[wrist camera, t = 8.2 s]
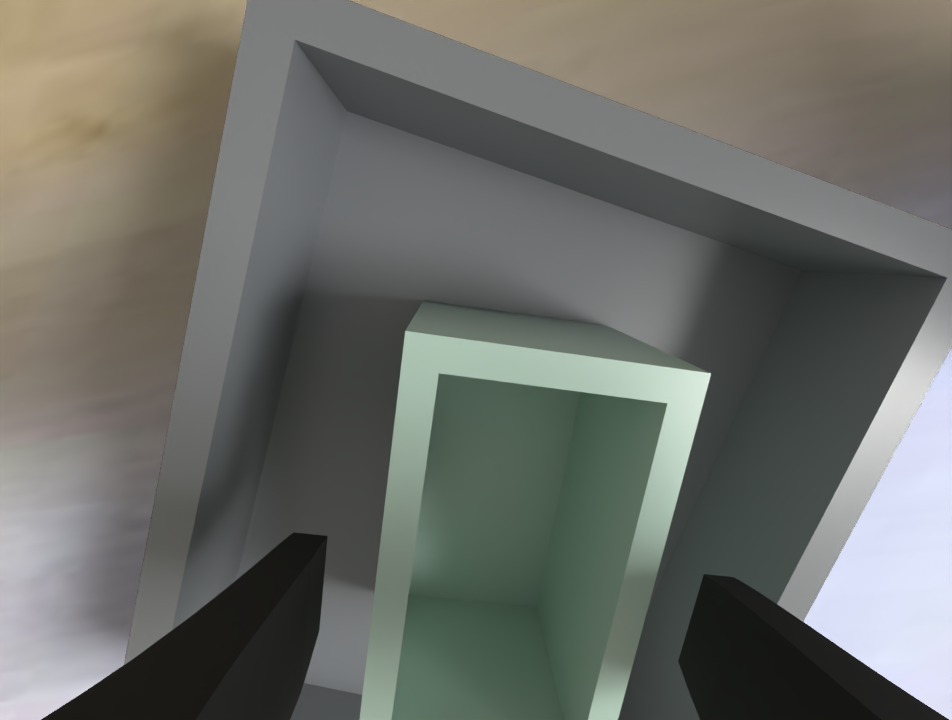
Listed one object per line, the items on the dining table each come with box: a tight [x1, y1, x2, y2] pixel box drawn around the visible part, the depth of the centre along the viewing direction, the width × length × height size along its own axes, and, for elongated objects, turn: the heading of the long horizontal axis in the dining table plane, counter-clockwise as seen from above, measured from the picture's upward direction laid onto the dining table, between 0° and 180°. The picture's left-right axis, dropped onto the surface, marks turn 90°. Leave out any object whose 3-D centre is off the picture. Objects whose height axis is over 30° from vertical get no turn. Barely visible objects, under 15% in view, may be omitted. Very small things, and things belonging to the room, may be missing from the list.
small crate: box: [359, 300, 711, 720], centre depth 11 cm, size 5×9×5 cm, turn 171°
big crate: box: [124, 0, 952, 720], centre depth 12 cm, size 14×18×4 cm
